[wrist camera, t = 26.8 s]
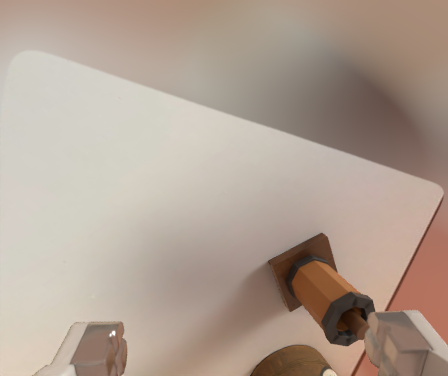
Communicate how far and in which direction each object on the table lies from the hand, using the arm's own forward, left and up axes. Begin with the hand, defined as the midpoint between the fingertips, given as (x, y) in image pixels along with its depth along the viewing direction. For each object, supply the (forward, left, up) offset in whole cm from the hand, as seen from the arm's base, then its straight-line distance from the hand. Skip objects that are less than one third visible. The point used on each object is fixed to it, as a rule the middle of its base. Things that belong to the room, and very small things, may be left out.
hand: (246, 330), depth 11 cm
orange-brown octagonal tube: (-12, +25, -28) cm, 39 cm away
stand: (-12, +25, -29) cm, 41 cm away
